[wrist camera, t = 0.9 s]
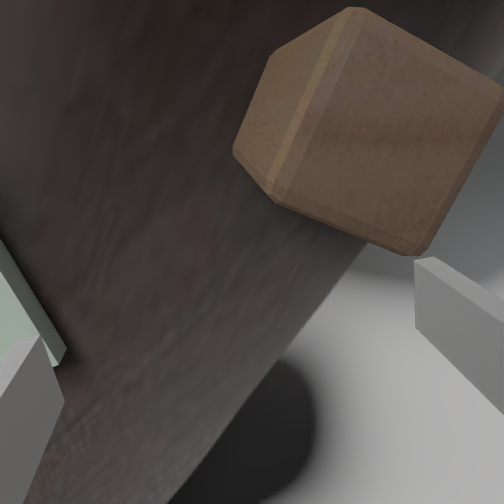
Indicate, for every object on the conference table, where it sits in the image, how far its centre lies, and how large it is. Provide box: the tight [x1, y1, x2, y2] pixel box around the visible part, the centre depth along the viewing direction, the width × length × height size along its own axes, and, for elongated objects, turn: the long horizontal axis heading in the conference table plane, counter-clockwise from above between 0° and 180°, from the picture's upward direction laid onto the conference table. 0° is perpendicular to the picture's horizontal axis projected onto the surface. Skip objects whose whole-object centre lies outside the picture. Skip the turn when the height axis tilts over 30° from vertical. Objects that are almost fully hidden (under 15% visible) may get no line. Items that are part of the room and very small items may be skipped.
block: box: [233, 7, 504, 256], centre depth 31 cm, size 10×10×20 cm
